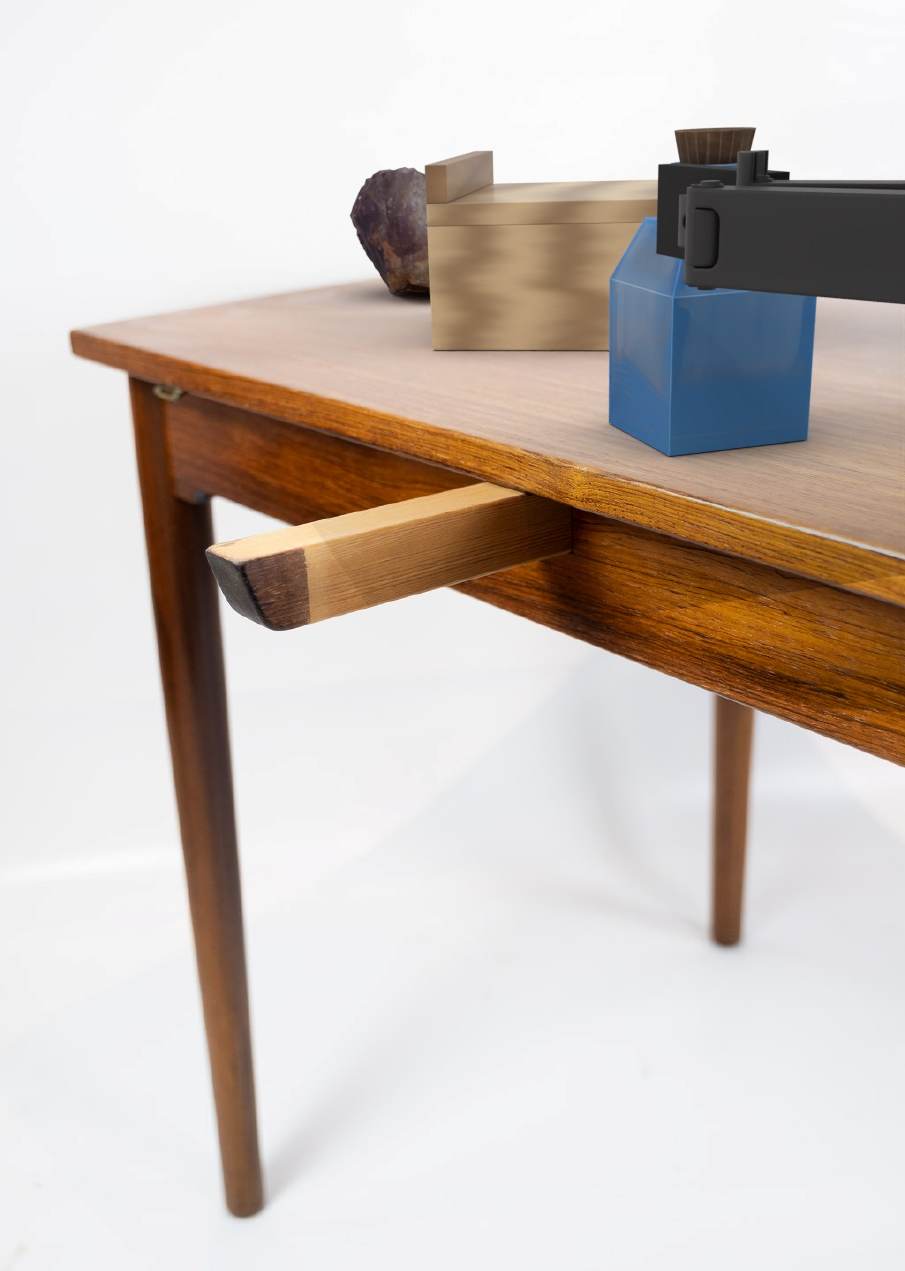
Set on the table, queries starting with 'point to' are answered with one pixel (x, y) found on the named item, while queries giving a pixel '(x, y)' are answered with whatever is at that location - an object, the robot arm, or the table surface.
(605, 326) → the wooden box with backstop
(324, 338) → the table surface
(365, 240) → the rock
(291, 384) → the table surface
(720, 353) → the perfume bottle
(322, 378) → the table surface
